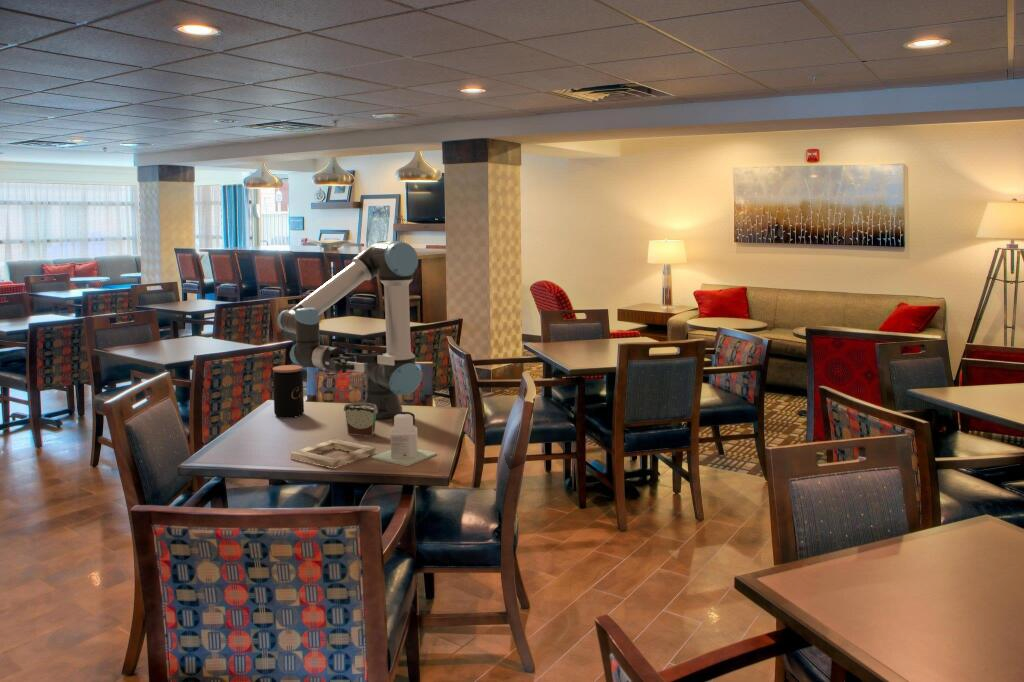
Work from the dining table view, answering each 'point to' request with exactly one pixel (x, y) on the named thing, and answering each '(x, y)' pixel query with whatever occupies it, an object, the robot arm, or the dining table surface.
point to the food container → (361, 418)
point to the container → (404, 436)
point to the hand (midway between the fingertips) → (378, 364)
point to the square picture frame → (355, 454)
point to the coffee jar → (288, 391)
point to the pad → (404, 461)
